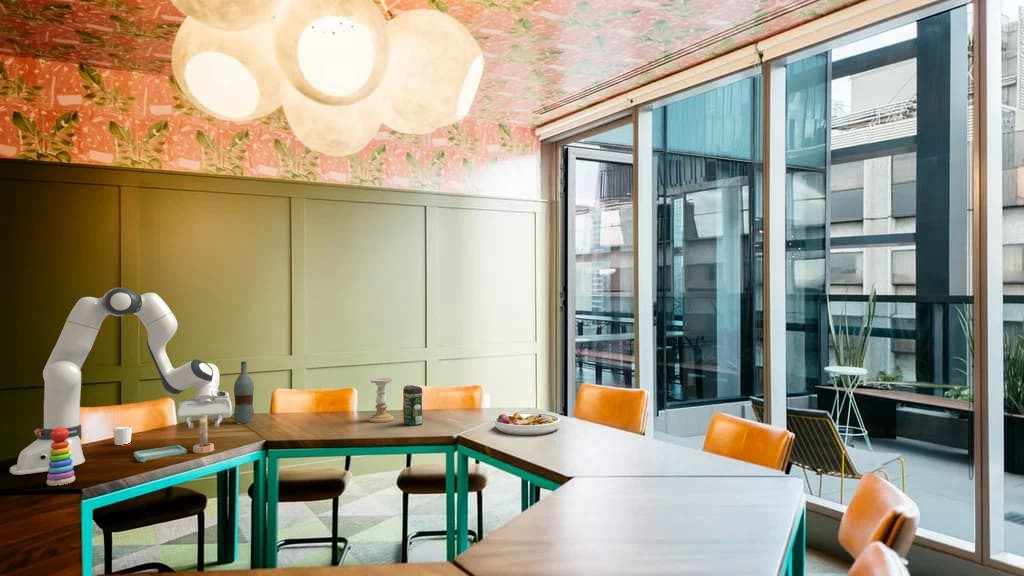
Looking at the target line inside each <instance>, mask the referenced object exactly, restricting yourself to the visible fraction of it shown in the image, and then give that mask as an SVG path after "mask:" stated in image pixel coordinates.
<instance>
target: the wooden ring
mask: <svg viewBox="0 0 1024 576" xmlns="http://www.w3.org/2000/svg"><path fill="white" fill-rule="evenodd" d="M213 451H215V444H214V443H212V442H209V443H208V442H207V446H205V447H200V443H198V444H195V445H193V447H192V452H193V453H194V454H205V453H210V452H213Z"/></svg>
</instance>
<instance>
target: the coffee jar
mask: <svg viewBox="0 0 1024 576" xmlns="http://www.w3.org/2000/svg"><path fill="white" fill-rule="evenodd" d="M402 393H403V394H402V395H403V424H405V425H407V426H417V427H418V426H420V425H423V424H424V423H423V422H424V420H423V418H424V417H423V388H422V387H421V386H417V385H414V384H410V385H409V384H408V385H405V386H404V387H403V390H402Z"/></svg>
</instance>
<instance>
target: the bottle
mask: <svg viewBox="0 0 1024 576" xmlns="http://www.w3.org/2000/svg"><path fill="white" fill-rule="evenodd" d="M247 371H248V370H247V361H240V374H239V375H238V377H237V378H236V379H235V382H234V385H233V393H234V409H233V411H234V412H233V418H234V423H235V424H236V423H248V424H250V423H249V422H252V423H253V422H254V418H255V411H254V410H255V409H254V392H255V391H254V390H255V388H254V380H253V379H252V378H251V376H250V375H249V373H248V372H247Z"/></svg>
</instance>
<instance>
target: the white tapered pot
mask: <svg viewBox="0 0 1024 576" xmlns="http://www.w3.org/2000/svg"><path fill="white" fill-rule="evenodd" d="M112 430H113V431H112V432H113V438H114V440H113V441H114V445H115V444H116V445H122V446H124V445H123V444H128V443H130V442H131V440H132V434H133V433H132V432H133V431H132V430H133V426H130V425H128V426H127V425H125V426H124V425H123V426H118V427H116V426H115V427H114V428H113V429H112ZM130 444H131V443H130ZM116 445H115V446H116ZM128 445H129V444H128Z"/></svg>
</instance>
